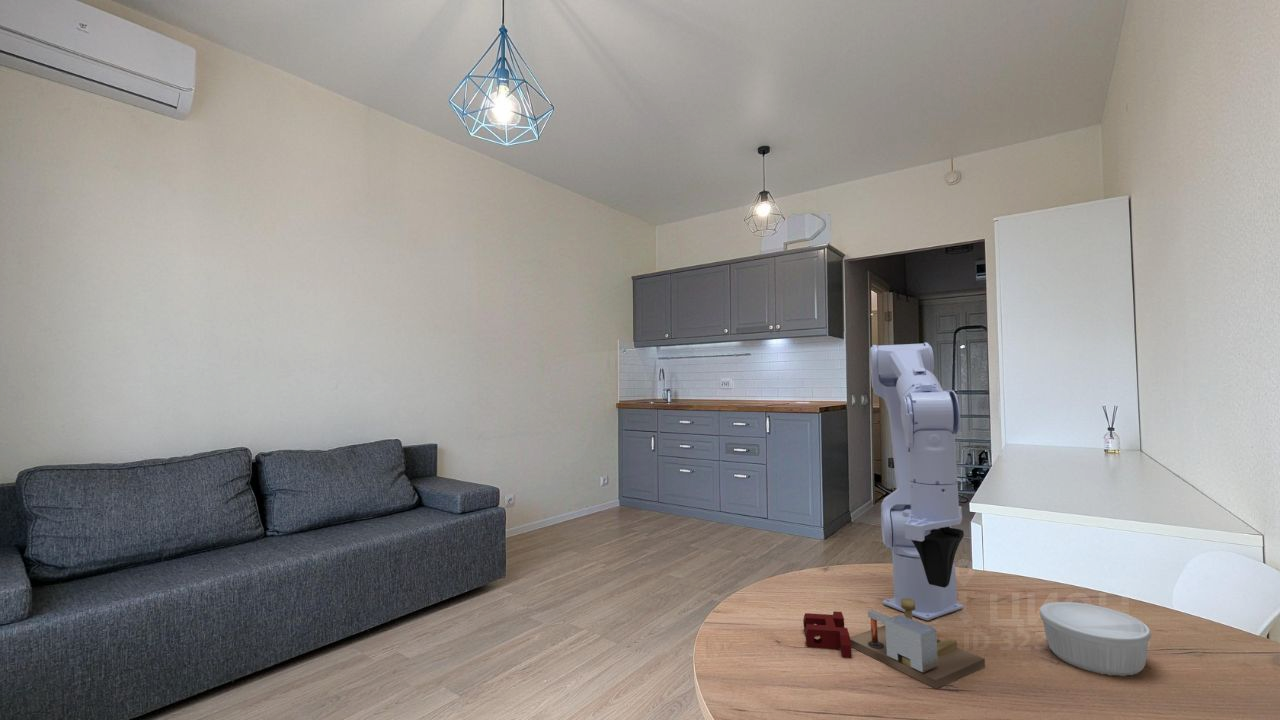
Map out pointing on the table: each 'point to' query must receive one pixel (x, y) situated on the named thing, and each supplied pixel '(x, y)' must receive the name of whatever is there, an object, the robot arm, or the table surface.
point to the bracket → (827, 632)
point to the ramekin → (1096, 637)
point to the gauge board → (949, 659)
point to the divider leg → (907, 640)
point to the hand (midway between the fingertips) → (938, 584)
